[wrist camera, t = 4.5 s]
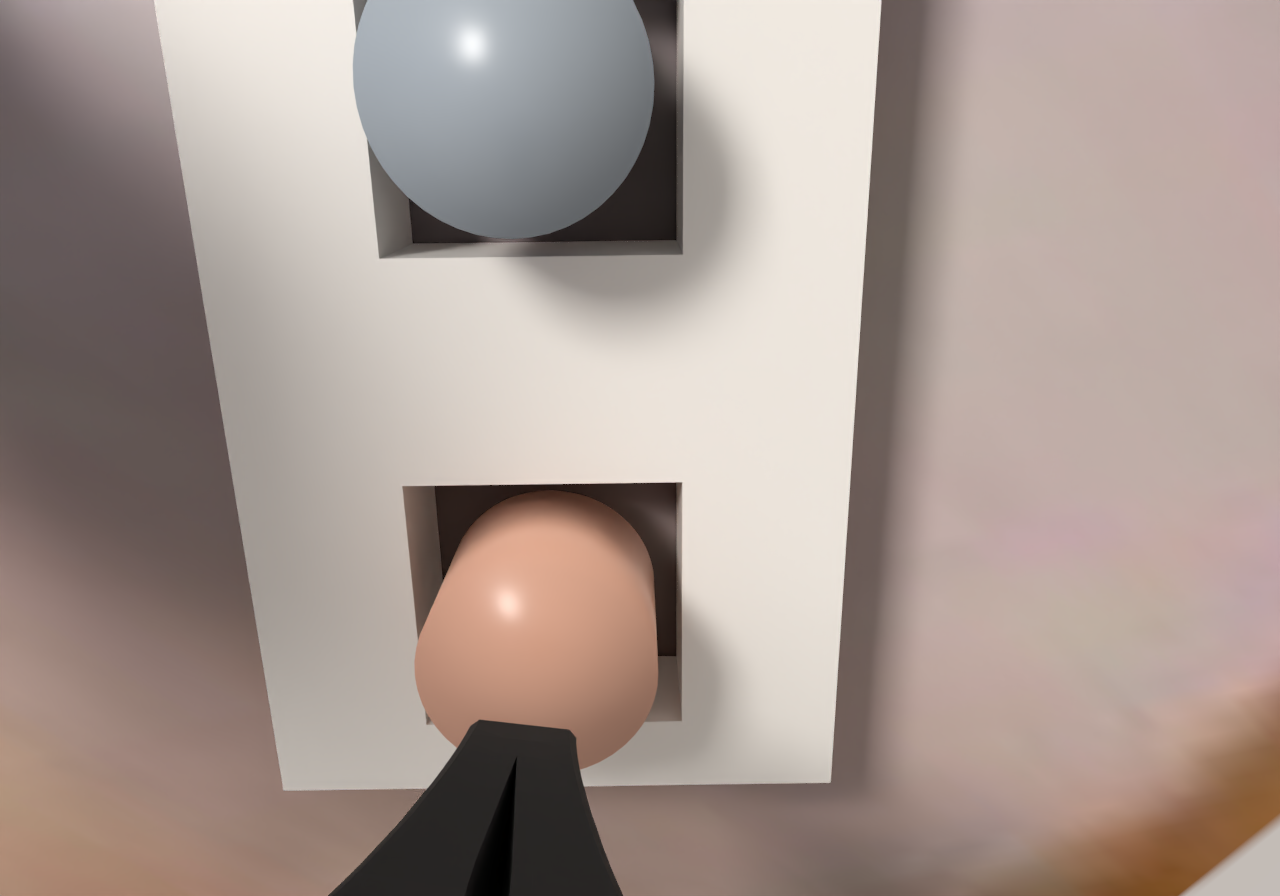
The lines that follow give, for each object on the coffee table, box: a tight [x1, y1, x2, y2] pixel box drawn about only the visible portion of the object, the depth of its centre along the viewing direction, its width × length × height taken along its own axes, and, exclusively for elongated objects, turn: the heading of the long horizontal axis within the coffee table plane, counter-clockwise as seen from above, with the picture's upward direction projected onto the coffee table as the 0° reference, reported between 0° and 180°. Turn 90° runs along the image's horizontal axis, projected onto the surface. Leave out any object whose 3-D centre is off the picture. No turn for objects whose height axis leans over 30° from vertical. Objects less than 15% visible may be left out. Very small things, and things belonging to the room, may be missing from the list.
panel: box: [154, 0, 881, 791], centre depth 15 cm, size 11×26×2 cm, turn 1°
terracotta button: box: [414, 490, 658, 770], centre depth 16 cm, size 4×4×3 cm
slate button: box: [353, 0, 654, 239], centre depth 14 cm, size 4×4×3 cm
